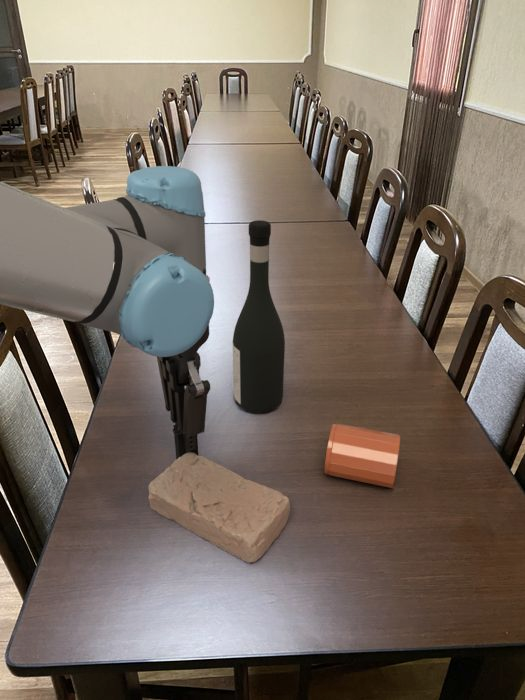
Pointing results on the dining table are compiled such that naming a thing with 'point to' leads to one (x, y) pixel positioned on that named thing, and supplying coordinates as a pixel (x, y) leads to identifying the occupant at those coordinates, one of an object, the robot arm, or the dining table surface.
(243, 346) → the wine bottle
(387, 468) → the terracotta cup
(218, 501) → the brick
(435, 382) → the dining table surface
